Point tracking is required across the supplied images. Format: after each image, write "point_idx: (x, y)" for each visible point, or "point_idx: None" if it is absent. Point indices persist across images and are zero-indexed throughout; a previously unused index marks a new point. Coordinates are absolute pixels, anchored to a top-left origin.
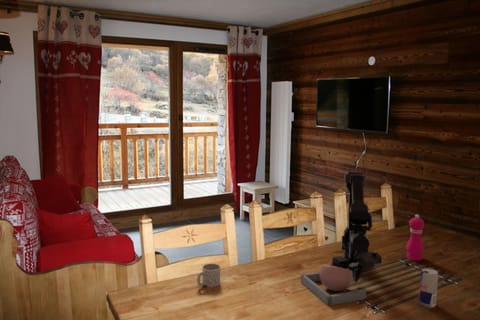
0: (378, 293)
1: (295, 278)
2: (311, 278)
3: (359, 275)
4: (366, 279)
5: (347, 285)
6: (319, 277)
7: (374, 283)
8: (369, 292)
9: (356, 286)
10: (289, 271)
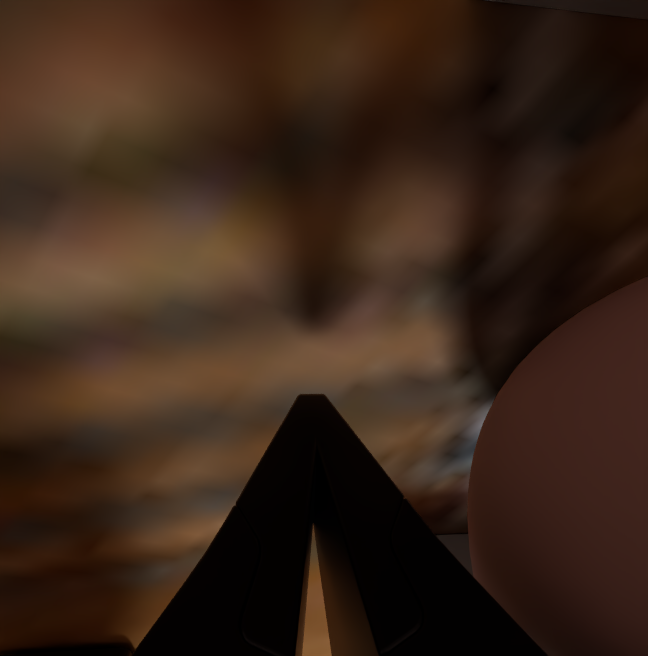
0: (87, 7)
1: None
2: None
3: (277, 480)
4: (74, 457)
5: None
6: None
7: (5, 354)
8: (240, 131)
9: (304, 360)
10: None
